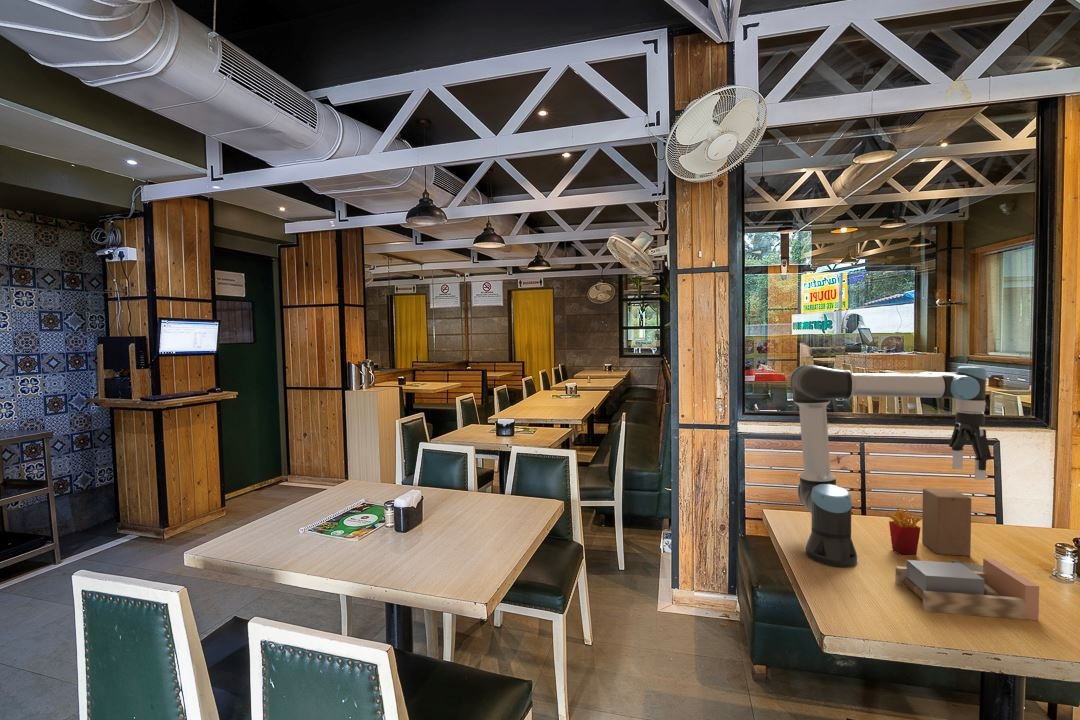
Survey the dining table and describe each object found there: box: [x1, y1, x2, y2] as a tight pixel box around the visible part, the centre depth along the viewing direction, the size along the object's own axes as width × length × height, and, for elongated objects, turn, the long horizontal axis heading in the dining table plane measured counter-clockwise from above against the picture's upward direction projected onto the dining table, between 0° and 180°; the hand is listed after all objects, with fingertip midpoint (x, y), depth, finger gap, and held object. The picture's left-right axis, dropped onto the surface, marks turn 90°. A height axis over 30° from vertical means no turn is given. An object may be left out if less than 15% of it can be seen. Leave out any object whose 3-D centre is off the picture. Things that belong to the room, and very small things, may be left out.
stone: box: [950, 559, 983, 572], centre depth 154 cm, size 15×8×3 cm, turn 54°
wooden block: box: [921, 488, 972, 557], centre depth 174 cm, size 10×10×20 cm
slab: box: [906, 559, 984, 595], centre depth 142 cm, size 14×10×5 cm
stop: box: [982, 558, 1040, 621], centre depth 139 cm, size 3×16×9 cm, turn 169°
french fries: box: [885, 506, 922, 557], centre depth 174 cm, size 9×8×15 cm
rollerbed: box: [894, 565, 1026, 620], centre depth 142 cm, size 23×16×5 cm
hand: (968, 474), depth 171 cm, fingers open, 13 cm apart
